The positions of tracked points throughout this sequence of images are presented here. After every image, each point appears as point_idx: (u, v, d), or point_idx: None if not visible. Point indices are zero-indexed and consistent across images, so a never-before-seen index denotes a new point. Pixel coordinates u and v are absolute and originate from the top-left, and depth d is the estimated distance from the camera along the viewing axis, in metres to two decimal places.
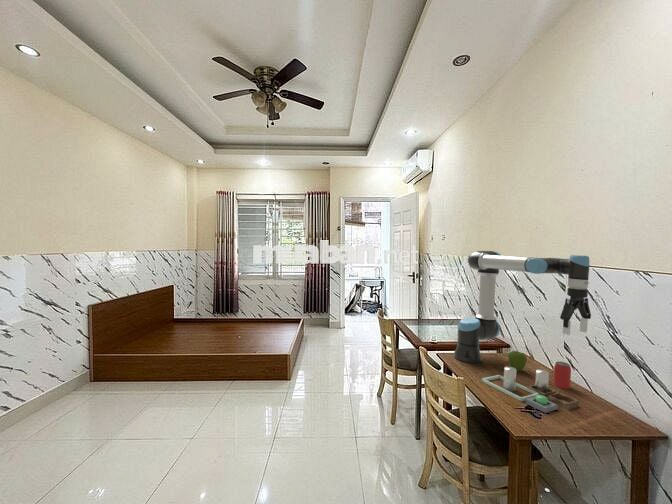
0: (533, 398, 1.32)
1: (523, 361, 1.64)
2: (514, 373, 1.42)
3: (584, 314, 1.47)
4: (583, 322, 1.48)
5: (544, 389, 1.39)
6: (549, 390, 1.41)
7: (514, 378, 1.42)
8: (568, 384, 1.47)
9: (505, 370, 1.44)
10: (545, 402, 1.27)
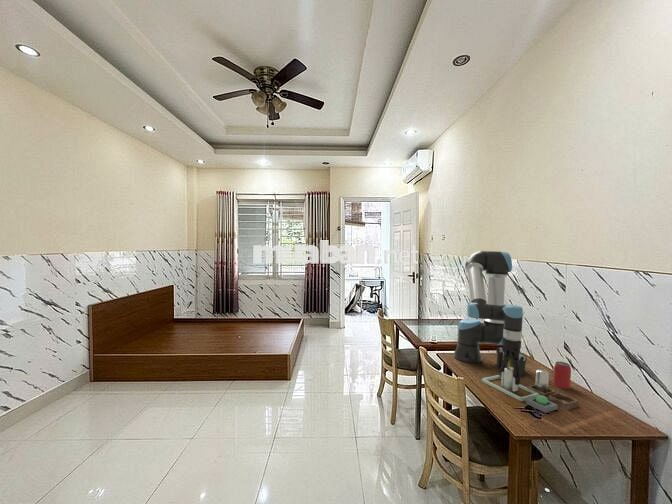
0: (533, 398, 1.32)
1: None
2: None
3: None
4: None
5: (544, 389, 1.39)
6: (549, 390, 1.41)
7: None
8: (568, 384, 1.47)
9: (505, 370, 1.44)
10: (545, 402, 1.27)
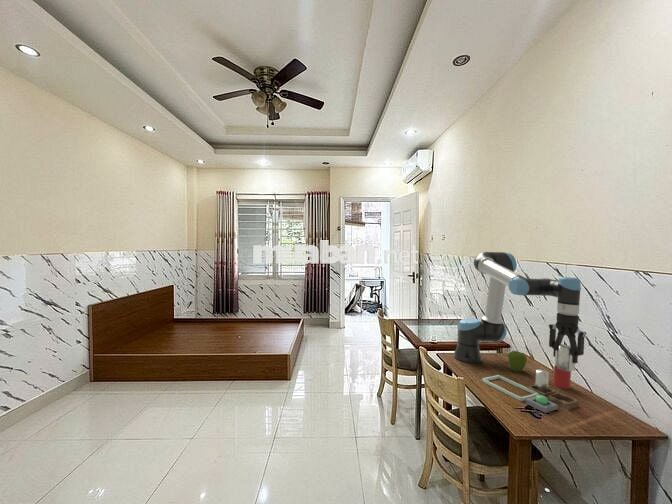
0: (533, 398, 1.32)
1: (523, 361, 1.64)
2: None
3: None
4: None
5: (544, 389, 1.39)
6: (549, 390, 1.41)
7: None
8: (568, 384, 1.47)
9: (560, 348, 1.32)
10: (545, 402, 1.27)
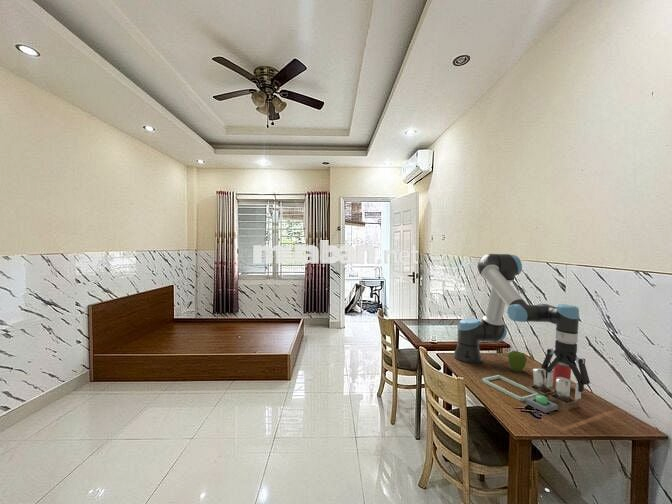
0: (533, 398, 1.32)
1: (523, 361, 1.64)
2: (568, 384, 1.31)
3: None
4: None
5: (543, 387, 1.39)
6: (549, 390, 1.41)
7: (568, 390, 1.31)
8: None
9: (558, 381, 1.33)
10: (545, 402, 1.27)
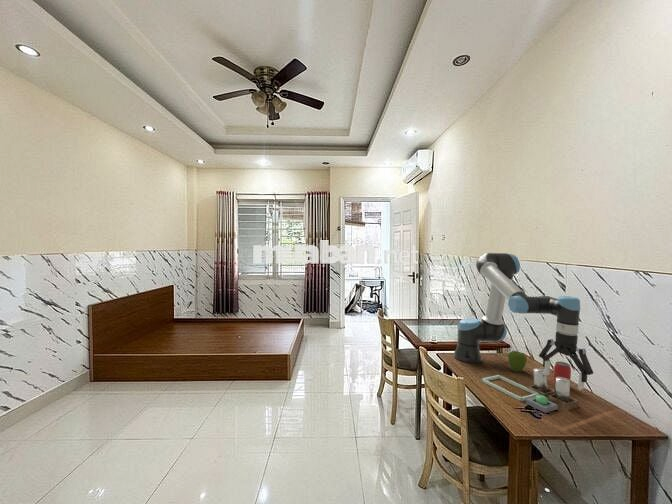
0: (533, 398, 1.32)
1: (523, 361, 1.64)
2: (568, 384, 1.31)
3: None
4: None
5: (544, 388, 1.39)
6: (549, 390, 1.41)
7: (568, 390, 1.31)
8: None
9: (557, 381, 1.33)
10: (545, 402, 1.27)
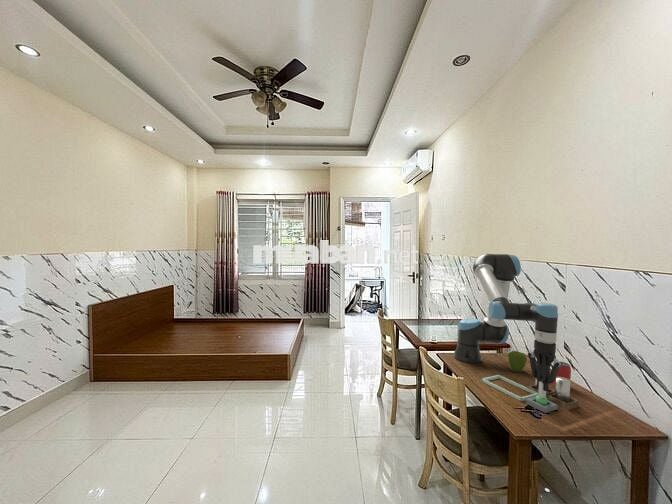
0: (533, 398, 1.32)
1: (523, 361, 1.64)
2: (568, 384, 1.31)
3: None
4: None
5: None
6: (549, 390, 1.41)
7: (568, 390, 1.31)
8: None
9: (558, 381, 1.33)
10: (545, 402, 1.27)
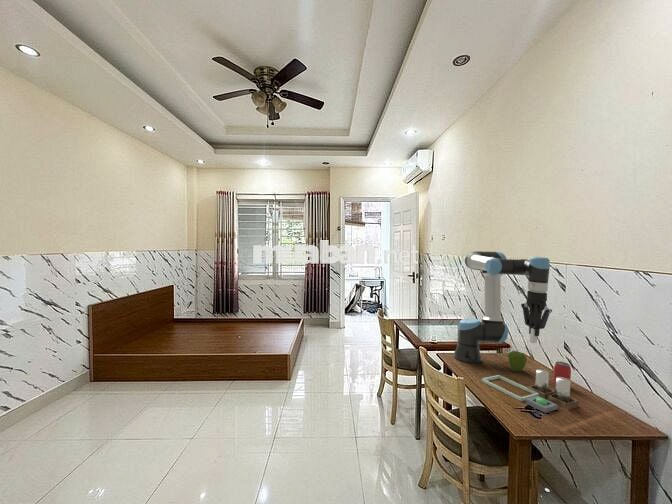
0: (533, 398, 1.32)
1: (523, 361, 1.64)
2: (568, 384, 1.31)
3: None
4: None
5: (544, 389, 1.39)
6: (549, 390, 1.41)
7: (568, 390, 1.31)
8: None
9: (558, 381, 1.33)
10: (545, 404, 1.27)
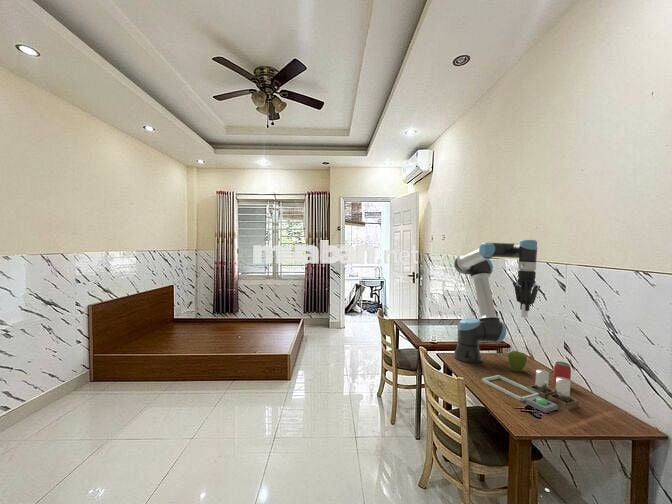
0: (533, 398, 1.32)
1: (523, 361, 1.64)
2: (568, 384, 1.31)
3: None
4: None
5: (544, 389, 1.39)
6: (549, 390, 1.41)
7: (568, 390, 1.31)
8: None
9: (558, 381, 1.33)
10: (545, 404, 1.27)
